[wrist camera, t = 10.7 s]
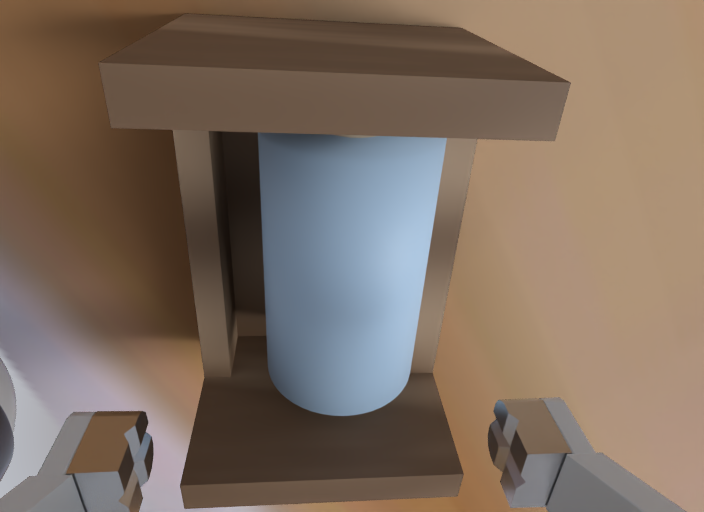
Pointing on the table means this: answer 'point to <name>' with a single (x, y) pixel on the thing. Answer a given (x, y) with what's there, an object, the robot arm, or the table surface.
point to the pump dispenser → (6, 418)
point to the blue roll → (345, 263)
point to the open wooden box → (246, 226)
